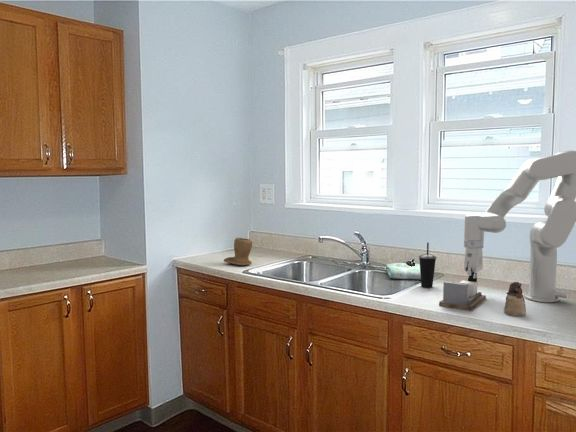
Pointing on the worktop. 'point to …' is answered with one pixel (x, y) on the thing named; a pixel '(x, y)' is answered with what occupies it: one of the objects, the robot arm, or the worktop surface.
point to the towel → (404, 271)
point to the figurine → (515, 301)
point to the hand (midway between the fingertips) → (472, 287)
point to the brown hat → (241, 252)
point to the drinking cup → (427, 269)
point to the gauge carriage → (471, 287)
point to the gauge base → (473, 302)
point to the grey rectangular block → (456, 293)
